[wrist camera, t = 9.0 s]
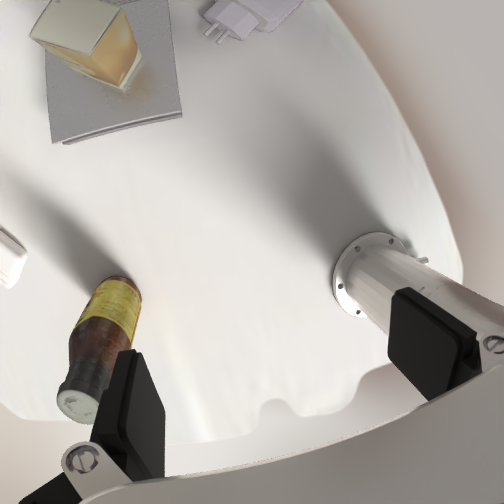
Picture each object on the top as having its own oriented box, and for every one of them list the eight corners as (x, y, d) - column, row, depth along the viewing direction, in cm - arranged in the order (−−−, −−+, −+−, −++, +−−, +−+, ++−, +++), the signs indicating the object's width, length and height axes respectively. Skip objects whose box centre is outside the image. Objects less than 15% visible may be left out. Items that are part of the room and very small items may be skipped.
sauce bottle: (95, 272, 37) (32, 364, 18) (143, 276, 38) (110, 376, 19) (98, 318, 38) (51, 425, 20) (143, 322, 40) (120, 437, 21)
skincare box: (74, 72, 25) (22, 36, 14) (95, 37, 24) (55, -13, 13) (124, 92, 27) (88, 57, 16) (146, 55, 26) (124, 4, 15)
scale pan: (167, -2, 27) (166, -16, 24) (182, 115, 32) (180, 110, 29) (57, 28, 26) (46, 18, 22) (64, 144, 30) (52, 143, 27)
